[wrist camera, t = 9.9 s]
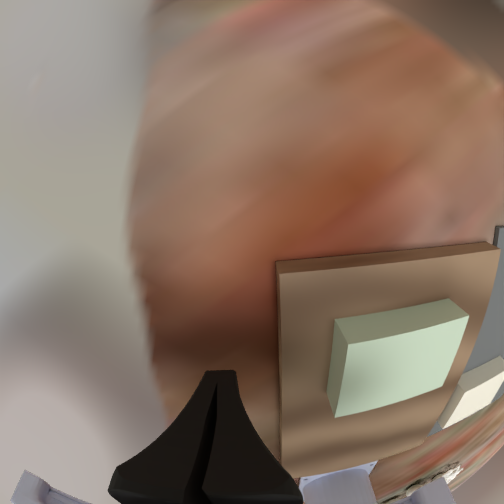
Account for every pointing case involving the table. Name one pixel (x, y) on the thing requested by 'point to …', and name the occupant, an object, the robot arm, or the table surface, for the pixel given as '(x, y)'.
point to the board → (355, 304)
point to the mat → (489, 325)
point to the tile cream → (473, 392)
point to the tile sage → (392, 355)
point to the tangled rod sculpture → (447, 475)
